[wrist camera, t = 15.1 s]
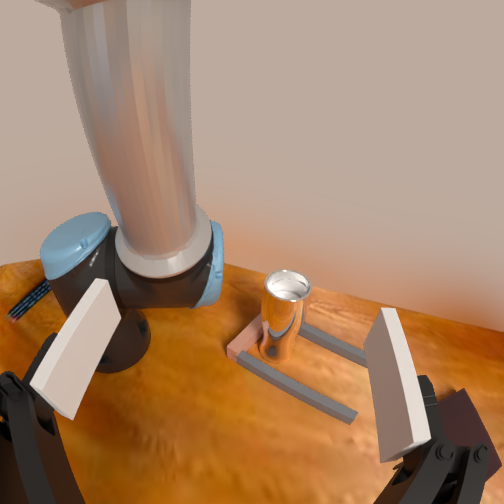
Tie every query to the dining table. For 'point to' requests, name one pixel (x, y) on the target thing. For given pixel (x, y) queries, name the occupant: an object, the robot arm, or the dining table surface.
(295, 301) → the shiny metal tumbler
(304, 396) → the guide channel
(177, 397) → the dining table surface
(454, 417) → the book
